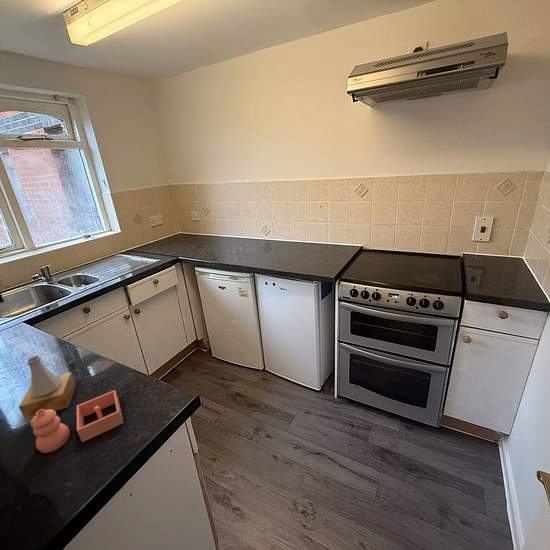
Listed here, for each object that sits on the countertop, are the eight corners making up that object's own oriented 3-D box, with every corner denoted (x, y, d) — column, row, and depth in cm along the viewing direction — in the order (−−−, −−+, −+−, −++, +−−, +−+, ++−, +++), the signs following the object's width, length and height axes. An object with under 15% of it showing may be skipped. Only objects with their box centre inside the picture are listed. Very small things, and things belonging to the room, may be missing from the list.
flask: (29, 402, 79) (14, 371, 75) (32, 387, 85) (18, 357, 81) (61, 389, 82) (48, 359, 79) (62, 375, 88) (49, 347, 84)
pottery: (119, 401, 83) (108, 373, 79) (123, 424, 75) (112, 393, 72) (41, 435, 74) (25, 405, 71) (37, 465, 67) (19, 433, 63)
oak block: (26, 421, 79) (18, 407, 78) (38, 396, 88) (32, 383, 86) (68, 408, 82) (62, 394, 81) (76, 385, 91) (71, 372, 89)
